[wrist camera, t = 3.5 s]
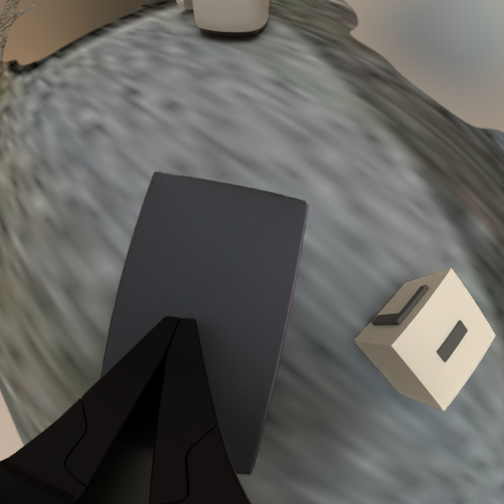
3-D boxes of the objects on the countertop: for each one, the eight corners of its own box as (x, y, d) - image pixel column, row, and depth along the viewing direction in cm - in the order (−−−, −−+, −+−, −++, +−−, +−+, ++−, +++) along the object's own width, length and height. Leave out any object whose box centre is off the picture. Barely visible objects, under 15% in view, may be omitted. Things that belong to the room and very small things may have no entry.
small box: (251, 408, 18) (257, 486, 8) (158, 386, 18) (85, 435, 8) (283, 258, 21) (318, 197, 10) (191, 239, 21) (146, 166, 11)
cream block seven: (445, 336, 20) (497, 335, 13) (399, 393, 19) (446, 411, 12) (402, 279, 20) (450, 263, 14) (349, 337, 20) (390, 341, 13)
